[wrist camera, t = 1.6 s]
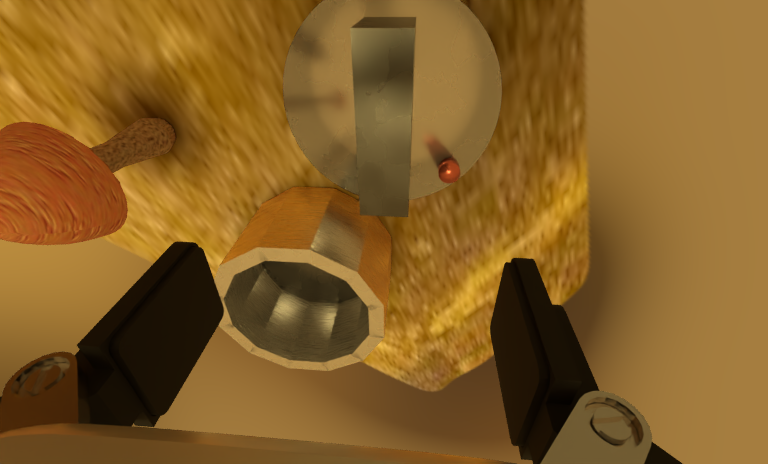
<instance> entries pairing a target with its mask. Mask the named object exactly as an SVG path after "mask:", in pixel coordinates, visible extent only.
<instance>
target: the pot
mask: <svg viewBox="0 0 768 464" xmlns="http://www.w3.org/2000/svg"><path fill="white" fill-rule="evenodd" d="M391 248H392V237H391V235H390V234H389V233H388V231H387V230H386V228H385V227H384V225H383V224H382V222H381V221H380V219H379V218H378V216H369V215H360V205H359V201H358V200H356V199H354V198H353V197H351V196H349V195H347V194H345V193H343V192H341V191H339V190H337V189H335V188H317V187H292V188H290V189H288V190H287V191H285V192H283V193H281V194H279V195H277V196H275V197H273V198H272V199H270V200H268V201H266V202H264V203H262V205H261V206H260V208H259V209H258V211H257V212H256V214H255V215H254V216H253V218H252V219H251V221H250V222H249V224H248V225H247V227H246V228H245V229H244V231H243V232H242V234H241V235H240V237H239V238H238V240H237V241H236V242H235V244H234V245H233V247H232V248H231V250H230V251H229V253H228V254H227V256H226V257H225V258H224V260H223V261H222V263H221V264H220V266H219V269H218V271H217V274H216V276H215V279H214V281H215V284H216V287H217V290H218V293H219V296H220V298H221V301H222V304H223V307H224V315H223V318H222V320H221V321H220V323H219V325H220V328H222V329H223V330H224V331H225V332H226V333H227V334H228V335H230V336H231V337H232V338H233V339H234V340H236V341H237V342H238V343H239V344H240V345H241V346H242V347H244V348H245V349H246V350H247V351H248V352H249V353H252V354H254V355H257V356H259V357H262V358H264V359H267V360H269V361H272V362H274V363H277V364H279V365H282V366H285V367H287V368H296V369H310V370H324V371H330V370H333V369H336V368H340V367H343V366H347V365H350V364H353V363H357V362H360V361H363V360H364V359H365V358H366V357H367V356H368V355H369V354H370V352H371V351H372V350H373V349H374V348H375V347H376V346H377V345H378V344H379V343H380V342H381V341H382V339H383V338H384V335H385V325H386V315H387V305H388V296H389V286H390V276H391Z"/></svg>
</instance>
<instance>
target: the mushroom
mask: <svg viewBox="0 0 768 464" xmlns="http://www.w3.org/2000/svg"><path fill="white" fill-rule="evenodd" d="M175 135H176V134H175V133H174V129H173V128H172V125H169V123H168V122H165V120H164V119H162V120H161V119H160V118H142V119H139V120H137V121H136V122H134V123H133V124H131V125H130V126H128V127H127V128H126V129H124V130H123V131H121V132H120V133H118V134H117V135H115V136H114V137H113V138H111V139H110V140H108V141H107V142H105V143H103V144H100V145H98V146H95V147H92V148H88V147H87V146H85V145H84V144H82V143H81V142H79V141H77V140H76V139H74V138H73V137H72V136H70V135H68V134H65V133H63V132H61V131H59V130H57V129H54V128H51V127H49V126H46V125H42V124H37V123H30V122H19V123H13V124H10V125H7V126H6V127H4V128H3V129H1V131H0V239H2V240H6V241H12V242H18V243H23V244H36V245H55V244H71V243H77V242H83V241H87V240H91V239H95V238H99V237H102V236H105V235H108V234H111V233H113V232H116V231H117V230H118V229H120V228H121V227H122V225H123V224H124V223H125V220H126V218H127V211H128V210H127V201H126V198H125V194H124V192H123V190H122V188H121V185H120V182H119V181H118V179H117V178H116V177H115V176H114V174H113V173H114V172H116V171H117V170H119V169H121V168H123V167H125V166H128V165H131V164H134V163H137V162H140V161H144V160H147V159H150V158H153V157H156V156H159V155H162V154H165V153H168V151H170V149H171V148H172V146H173V144H174V142H175V139H176V137H175Z"/></svg>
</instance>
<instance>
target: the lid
mask: <svg viewBox="0 0 768 464" xmlns="http://www.w3.org/2000/svg"><path fill="white" fill-rule="evenodd" d="M283 96H284V106H285V110H286V115H287V119H288V122H289V125H290V128H291V131H292V133H293V135H294V137H295V139H296V141H297V143H298V145H299V147H300V148H301V150H302V151H303V153H304V154H305V156H306V157H307V158H308V159H309V161H310V162H311V163H312V164H313V165H314V166H315V167H316V168H317V169H318V170H319V171H320V172H321V173H322V174H323V175H324V176H326V177H327V178H328V179H329V180H331V181H332V182H334V183H335V184H337V185H338V186H340V187H342V188H344V189H346V190H348V191H350V192H352V193H354V194H357V195H359V205H360V215H369V216H394V217H408V208H409V200H410V199H416V198H420V197H424V196H427V195H430V194H432V193H435V192H438V191H439V190H441V189H443V188H445V187H447V186H449V185H450V184H452V183H453V182H455V181H457V180H458V179H459V178H460V177H461V176H462V175H464V174H465V173H466V172H467V171H468V170H469V169H470V168H471V167H472V166H473V165H474V164H475V162H476V161H477V160H478V159H479V157H480V156H481V155H482V153H483V152H484V150H485V149H486V147H487V145H488V143H489V141H490V139H491V137H492V135H493V132H494V130H495V127H496V124H497V121H498V117H499V113H500V107H501V98H502V79H501V73H500V66H499V62H498V58H497V55H496V52H495V48H494V46H493V44H492V42H491V40H490V38H489V35H488V33H487V32H486V30H485V29H484V27H483V26H482V24H481V22H480V21H479V19H478V18H477V17H476V16H475V15H474V14H473V13H472V11H471V10H470V9H469V8H468V7H467V6H466V5H465V4H463V3H462V2H461V1H460V0H323V1H322V2H321V3H320V4H318V5H317V6H316V7H315V8H314V9H313V11H312V12H311V13H310V14H309V15H308V16H307V18H306V19H305V20H304V22H303V23H302V25H301V26H300V28H299V30H298V31H297V33H296V35H295V37H294V39H293V42H292V44H291V46H290V49H289V52H288V56H287V59H286V63H285V69H284V76H283Z"/></svg>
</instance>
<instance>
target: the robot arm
mask: <svg viewBox="0 0 768 464" xmlns="http://www.w3.org/2000/svg"><path fill="white" fill-rule="evenodd" d="M223 315H224V307H223V304H222V301H221V298H220V296H219V293H218V290H217V287H216V284H215V281H214V279H213V276H212V273H211V270H210V267H209V264H208V262H207V259H206V256H205V253H204V251H203V249H202V248H200V247H199V246H198V245H197V244H196V243H193V242H174V243H173V244H172V245H171V246H170V247H169V248H168V249H167V250H166V251H165V252H164V253H163V254H162V255H161V257H160V258H159V259H158V260H157V261H156V262H155V263H154V264H153V265H152V266H151V267H150V268H149V269H148V270H147V271H146V272H145V273H144V275H143V276H142V277H141V278H140V279H139V280H138V281H137V282H136V283H135V284H134V285H133V286H132V287H131V288H130V289H129V290H128V292H127V293H126V294H125V295H124V296H123V297H122V298H121V299H120V300H119V301H118V302H117V303H116V304H115V305H114V306H113V307H112V308H111V310H110V311H109V312H108V313H107V314H106V315H105V316H104V317H103V318H102V319H101V320H100V321H99V322H98V323H97V324H96V326H94V327H93V329H92V330H91V331H90V332H89V333H88V334H87V335H86V336H85V337H84V338H83V339H82V340H81V341H80V343H78V344H77V346H78V348H79V349H80V350H79V351H78V352H77V353H76V355H75V356H74V355H73V354H72V353H69V352H54V353H51V354H47V355H44V356H41V357H39V358H37V359H35V360H33V361H31V362H29V363H28V364H26V365H25V366H23V367H22V368H20V370H18V371H17V372H16V373H15V374H14V375H12V377H11V378H10V379H9V380H8V382H7V383H6V384H5V387H4V389H3V392H2V396H1V397H0V464H515V463H508V462H502V461H496V460H490V459H483V458H474V457H465V456H456V455H447V454H438V453H429V452H419V451H408V450H397V449H386V448H376V447H364V446H354V445H344V444H332V443H322V442H311V441H298V440H288V439H277V438H265V437H253V436H242V435H231V434H230V435H229V434H218V433H206V432H194V431H182V430H170V429H157V428H146V427H131V426H132V425H133V423H134V424H135V425H137V426H148V427H154V426H155V424H156V422H157V421H158V419H159V417H160V416H161V415H164V414H165V413H166V412H167V411H168V409H169V408H170V406H171V405H172V403H173V401H174V399H175V398H176V396H177V394H178V393H179V391H180V389H181V388H182V386H183V384H184V382H185V381H186V379H187V377H188V376H189V374H190V372H191V371H192V369H193V367H194V366H195V364H196V362H197V360H198V359H199V357H200V355H201V353H202V352H203V350H204V349H205V346H206V345H207V343H208V342H209V340H210V338H211V337H212V335H213V333H214V332H215V330H216V328H217V327H218V325H219V323H220V321H221V320H222V318H223ZM490 334H491V340H492V345H493V350H494V355H495V361H496V366H497V371H498V376H499V381H500V387H501V392H502V397H503V403H504V408H505V413H506V418H507V424H508V429H509V434H510V439H511V443H512V444H513V445H514V446H519V451H520V456H521V459H524V460H532V461H533V464H682V463H681V462H680V461H678V460H676V459H675V458H674V457H672V456H671V455H670V454H668V453H667V452H666V451H664V450H663V449H661V448H660V447H659V446H657V445H656V444H654V443H653V442H652V434H651V430H650V427H649V425H648V423H647V421H646V420H645V418H644V416H643V415H642V414H641V413H640V412H639V411H638V410H637V409H636V408H635V407H634V406H633V405H632V404H630V403H629V402H628V401H626V400H625V399H623V398H621V397H619V396H617V395H615V394H613V393H609V392H604V391H599V389H598V386H597V384H596V382H595V379H594V377H593V375H592V372H591V370H590V368H589V365H588V363H587V361H586V358H585V356H584V354H583V351H582V349H581V347H580V344H579V342H578V340H577V337H576V335H575V333H574V330H573V328H572V326H571V324H570V321H569V319H568V316H567V314H566V312H565V310H564V308H563V307H562V306H561V305H552V303H551V301H550V298H549V296H548V293H547V291H546V288H545V286H544V283H543V281H542V278H541V276H540V273H539V271H538V268H537V266H536V263H535V261H534V260H533V259H526V258H513V259H512V260H511V263H508V262H506V263H505V265H504V269H503V273H502V277H501V282H500V286H499V290H498V295H497V299H496V303H495V308H494V312H493V316H492V321H491V326H490Z"/></svg>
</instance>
